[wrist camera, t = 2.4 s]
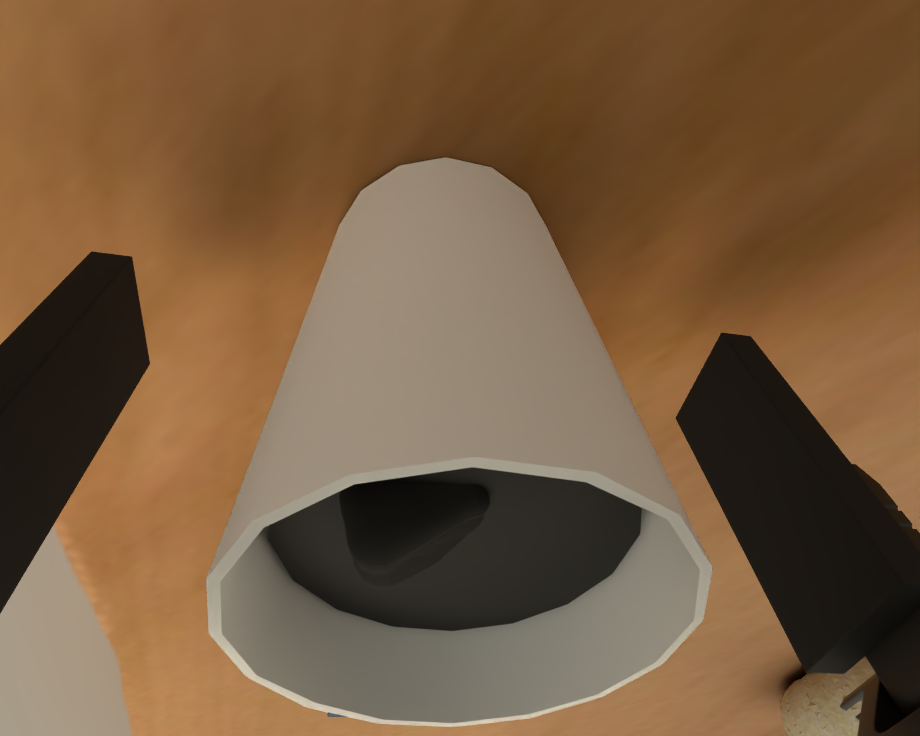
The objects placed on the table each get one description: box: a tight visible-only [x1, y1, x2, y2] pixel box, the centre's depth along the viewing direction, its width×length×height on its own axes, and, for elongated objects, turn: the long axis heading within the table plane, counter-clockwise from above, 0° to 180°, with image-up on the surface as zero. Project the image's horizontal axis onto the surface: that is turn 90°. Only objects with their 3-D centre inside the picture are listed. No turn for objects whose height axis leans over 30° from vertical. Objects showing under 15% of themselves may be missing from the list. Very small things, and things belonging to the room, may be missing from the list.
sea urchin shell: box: [780, 656, 875, 736], centre depth 32 cm, size 9×8×8 cm
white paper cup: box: [206, 157, 713, 727], centre depth 12 cm, size 7×7×10 cm
